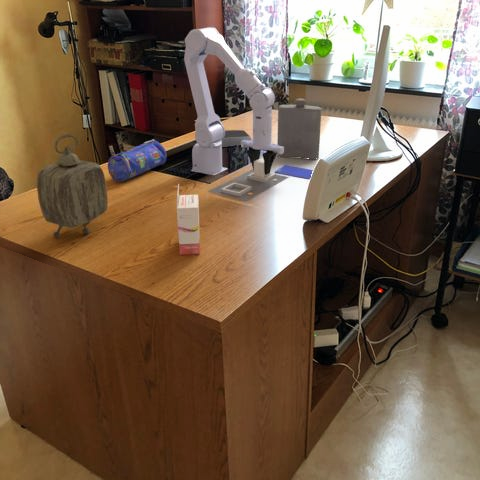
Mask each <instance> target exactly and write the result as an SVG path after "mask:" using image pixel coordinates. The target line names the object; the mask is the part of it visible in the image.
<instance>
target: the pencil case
mask: <svg viewBox="0 0 480 480" xmlns="http://www.w3.org/2000/svg"><path fill="white" fill-rule="evenodd" d="M167 157H168V156H167V151H166V148H165V147H164V146H163V145H162V144H161V143H160V142H159V141H158V140H157V139H154V138H153V139H150V140H148V141H147V140H146V141H145V142H143V143H142V144H139V145H137V146H135V147H132V148H131V149H129V150H127V151H121V152H119V153H117V154H116V153H115V154H113V155H112V156H110V157H109V159H108V162H107V170H108V173H109V176H110V177H111V178H112V180H114V181H115V182H124V181H126V180H129V179H131V178H134V177H136V176H139V175H141V174H143V173H145V172H148V171H150V170H152V169H154V168H156V167H159V166H161V165H164V164H165V163H166V162H167Z"/></svg>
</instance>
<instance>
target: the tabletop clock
mask: <svg viewBox="0 0 480 480" xmlns="http://www.w3.org/2000/svg"><path fill="white" fill-rule="evenodd" d="M69 137H71V138H73V139H74V141H75V144H74V145H73V146H72V147H71V148H70V146H67V145H66V146H65V147H64V150H59V149H58V148H57V147H58V145H59V144H58V143H59V142H60V141H61V140H63V139H65V138H69ZM78 142H79V141H78V138H77V136H76V135H74V134H73V133H66V134H62V135H61V136H59V137H58V138H57V139H56V141H55V142H54V150H55V151H56V152H57V153H58V154H61V155H59V157H58V160H57V161H55V162H53V163H51V164H49V165H47V166H45V167H44V168H42V169H40V171H38V172H37V177H36V190H37V199H38V204H39V207H40V210H41V213H42V216H43V218H44V220H45V221H46V222H48V223H51V224H55V225H58V228H57V230H56V231H54V232H53V233H52V236H53V238H54V239H59V237H60V235H61V234H60V232H61V230H63V228H64V227H65V228H71V229H73V228H77V227H79V226H83V230H82V232H83V235H89V234H90V229H89V228H87V226H86V223H90V222H91V221H93V220H95V219H97V218H98V217H100V216H102V215H103V214H104V213H106V211H107V209H108V191H107V189H108V188H107V184H106V178H105V177H106V176H105V174H104V171H103V168H102V167H101V166H100V164H99V163H98V162H97V163H96V162H91V161H87V160H82V159H81V160H80V158H79V157H78V155H77V154H75V153H73V150H75V149H77V146H78V144H79V143H78Z"/></svg>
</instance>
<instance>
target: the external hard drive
mask: <svg viewBox="0 0 480 480" xmlns="http://www.w3.org/2000/svg"><path fill="white" fill-rule="evenodd" d="M243 140H251V141H253V138H252V137H251V136H250V135H249V134H248V133H247V132H246V130H242V129H241V130H239V129H238V130H237V129H234V130H233V129H231V130H227V129H225V136H224V137H223V139H222V147H228V146H235V145H241V141H243Z"/></svg>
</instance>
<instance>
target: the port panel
mask: <svg viewBox="0 0 480 480" xmlns="http://www.w3.org/2000/svg"><path fill="white" fill-rule="evenodd" d="M289 177H290V176H286V175H282V174H277V173H274V172H271V171H270V175H269V176H268V177H266V178H261V177H256V176H254V171H253V169H250V170H248V171H246V172H244V173H242V174H240V175H237V176H236V177H233V178H232V179H231V178H230V180H227V181H226V182H224V183H222V184H219V185H217V186H216V187H214V188H211V189H210V190H208V191H207V192H208V193H212V194H217V195H221V196H224V197H228V198H231V199H232V198H233V199H236V200H241V201H244V202H248V201H250V200H252V199H254V198H255V197H257V196H259V195H260V194H262V193H264V192H265V191H268V190H269V189H271V188H273V187H274V186H276V185H278V184H281V182H284V181H285V180H287V179H289Z"/></svg>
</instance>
